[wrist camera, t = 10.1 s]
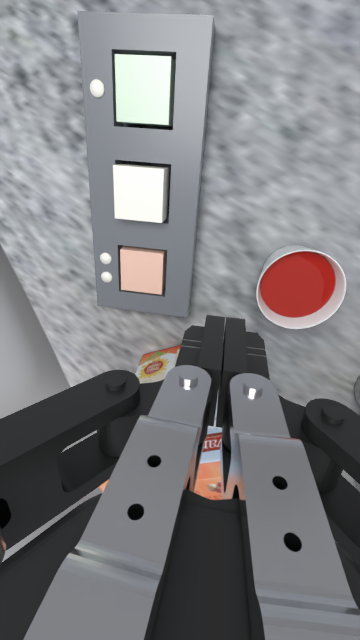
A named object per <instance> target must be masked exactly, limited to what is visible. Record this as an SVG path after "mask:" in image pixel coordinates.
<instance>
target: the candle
mask: <svg viewBox="0 0 360 640" xmlns="http://www.w3.org/2000/svg"><path fill="white" fill-rule="evenodd" d="M345 292H346V278H345V274H344V272H343V270H342V268H341V266H340V265H339V264H338V263H337V262H336V261H335V260H334V259H333V258H332V257H330V256H329V255H327V254H325V253H322V252H320V251H317V250H314V249H311V248H308V247H305V246H300V245H289V246H285V247H282V248H280V249H278V250H276V251H275V252H274V253H272V254H271V255H270V256H269V258H268V259H267V260H266V262H265V264H264V266H263V269H262V272H261V275H260V278H259V281H258V284H257V290H256V297H257V303H258V306H259V308H260V310H261V312H262V313H263V314H264V316H265V317H266V318H267V319H269V320H270V321H271V322H273V323H274V324H276V325H278V326H281V327H284V328H289V329H304V328H309V327H312V326H315V325H318V324H320V323H322V322H324V321H325V320H327V319H328V318H329V317H331V316H332V315H333V314H334V313H335V312H336V311H337V309H338V308H339V307H340V305H341V303H342V301H343V299H344V296H345Z"/></svg>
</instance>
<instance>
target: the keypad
mask: <svg viewBox="0 0 360 640" xmlns="http://www.w3.org/2000/svg"><path fill="white" fill-rule="evenodd" d="M78 26H79V40H80V55H81V69H82V84H83V99H84V113H85V128H86V142H87V157H88V172H89V186H90V201H91V215H92V230H93V245H94V259H95V274H96V288H97V303H98V306H102V307H110V308H117V309H125V310H133V311H141V312H148V313H156V314H164V315H172V316H180V317H188V313H189V309H190V303H191V292H192V280H193V269H194V258H195V247H196V236H197V224H198V213H199V202H200V191H201V180H202V168H203V157H204V146H205V135H206V124H207V112H208V101H209V90H210V79H211V68H212V56H213V45H214V34H215V24H214V17H213V15H190V14H156V13H123V12H89V11H78ZM115 54H127V55H150V56H171V57H172V59H173V60H176V72H175V93H174V115H173V130H161V129H146V128H132V127H123V123H120V122H117V119H116V83H115ZM124 161H136V162H149V163H161V164H171V181H170V202H169V218H167V219H166V220H165V221H164V222H162V223H156V222H146V221H136V220H126V219H116V218H115V209H114V180H113V165H117V164H124ZM123 246H133V247H142V248H152V249H161V250H167V268H166V288H165V289H164V291H163V293H162V295H160V294H152V293H144V292H136V291H128V290H121V262H120V249H121V248H122V247H123Z"/></svg>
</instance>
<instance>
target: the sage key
mask: <svg viewBox="0 0 360 640" xmlns="http://www.w3.org/2000/svg"><path fill="white" fill-rule="evenodd" d="M175 72H176V63H175V62H174V60H173V59H172V57H171V56H150V55H127V54H115V83H116V119H117V122H120V123H124V124H134V125H149V126H164V127H173V115H174V93H175Z"/></svg>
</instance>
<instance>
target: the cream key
mask: <svg viewBox="0 0 360 640" xmlns="http://www.w3.org/2000/svg"><path fill="white" fill-rule="evenodd" d="M113 180H114V209H115V218H116V219H126V220H136V221H146V222H156V223H162V222H164V221H165V220H166V219H167V210H168V187H169V168H166V167H154V166H141V165H129V164H117V165H113Z"/></svg>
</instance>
